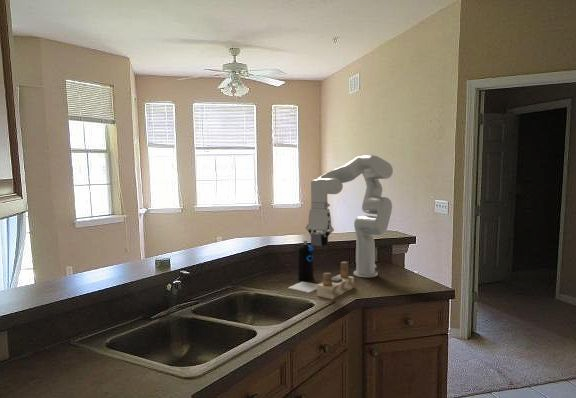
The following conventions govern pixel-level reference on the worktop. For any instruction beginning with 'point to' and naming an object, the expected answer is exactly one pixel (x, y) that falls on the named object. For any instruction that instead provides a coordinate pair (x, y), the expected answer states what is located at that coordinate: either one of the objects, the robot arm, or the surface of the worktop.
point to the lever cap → (317, 238)
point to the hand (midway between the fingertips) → (319, 244)
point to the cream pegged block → (335, 283)
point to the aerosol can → (305, 262)
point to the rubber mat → (304, 287)
